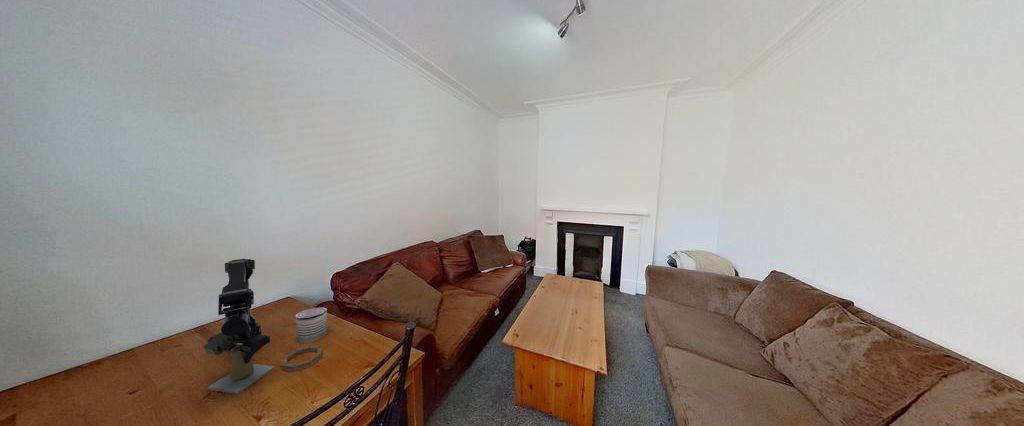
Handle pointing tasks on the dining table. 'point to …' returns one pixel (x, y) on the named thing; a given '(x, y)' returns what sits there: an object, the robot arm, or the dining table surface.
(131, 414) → the dining table surface
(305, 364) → the walnut holder
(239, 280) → the robot arm
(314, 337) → the can
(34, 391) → the dining table surface
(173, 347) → the dining table surface
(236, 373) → the cork
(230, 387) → the slate mat
